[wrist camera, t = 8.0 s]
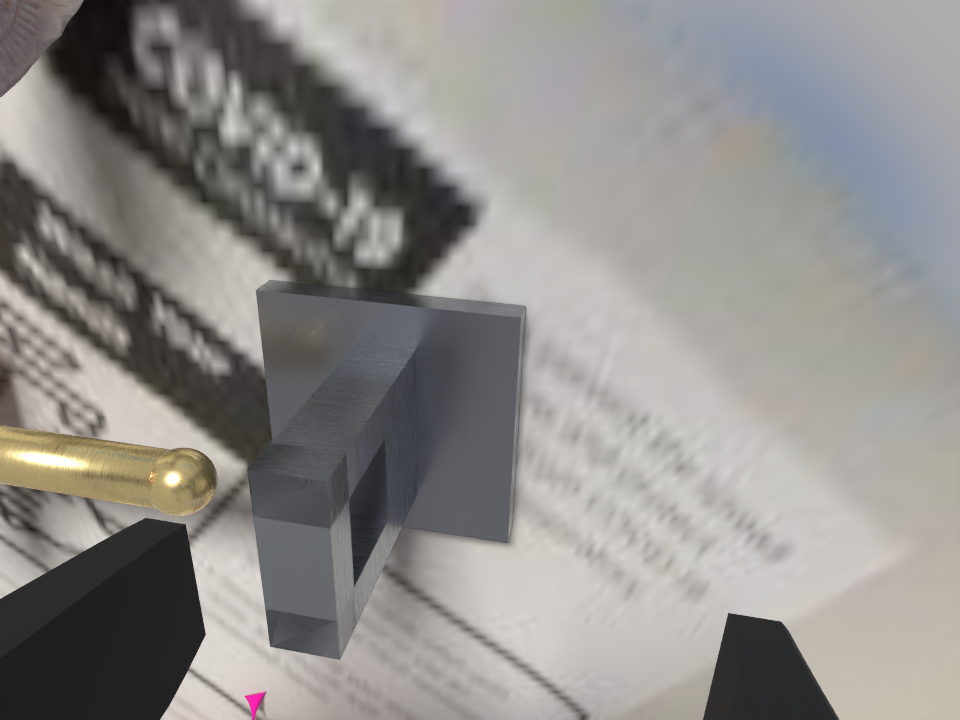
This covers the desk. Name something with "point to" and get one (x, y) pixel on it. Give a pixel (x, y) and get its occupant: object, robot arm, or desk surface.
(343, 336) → the eye post
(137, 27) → the desk surface
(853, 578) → the desk surface
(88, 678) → the robot arm
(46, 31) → the fossil
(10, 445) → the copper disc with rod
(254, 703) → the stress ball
